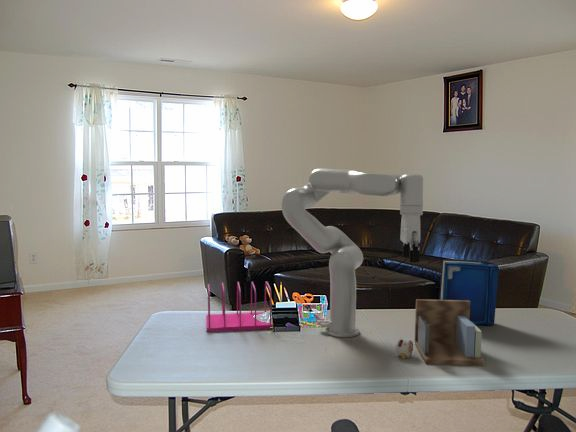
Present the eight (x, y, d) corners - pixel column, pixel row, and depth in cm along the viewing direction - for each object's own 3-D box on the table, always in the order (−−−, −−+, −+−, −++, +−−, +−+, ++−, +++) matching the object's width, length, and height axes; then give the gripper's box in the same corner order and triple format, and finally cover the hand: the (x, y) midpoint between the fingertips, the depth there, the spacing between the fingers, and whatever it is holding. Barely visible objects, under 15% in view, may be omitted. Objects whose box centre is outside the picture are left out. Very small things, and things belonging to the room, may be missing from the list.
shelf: (425, 363, 155) (427, 314, 154) (414, 344, 173) (415, 299, 171) (483, 365, 154) (486, 315, 153) (467, 345, 172) (469, 300, 170)
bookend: (424, 355, 158) (425, 325, 157) (417, 343, 169) (418, 314, 168) (428, 355, 158) (429, 325, 157) (421, 343, 169) (422, 315, 168)
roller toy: (414, 354, 163) (415, 337, 162) (407, 361, 158) (408, 343, 157) (401, 352, 165) (402, 335, 165) (394, 358, 160) (395, 340, 160)
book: (492, 321, 199) (495, 260, 197) (498, 327, 192) (501, 263, 190) (437, 319, 201) (439, 258, 199) (440, 324, 194) (443, 262, 192)
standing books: (465, 356, 157) (466, 326, 156) (455, 344, 168) (457, 315, 167) (480, 357, 157) (481, 326, 156) (469, 344, 168) (471, 316, 167)
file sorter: (273, 329, 188) (273, 289, 186) (206, 332, 183) (206, 291, 182) (267, 316, 205) (267, 278, 203) (206, 318, 200) (205, 280, 199)
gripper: (395, 208, 179) (394, 255, 180) (406, 212, 162) (405, 264, 163) (416, 208, 179) (415, 255, 180) (429, 212, 162) (428, 264, 163)
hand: (410, 259), depth 172 cm, fingers open, 9 cm apart
